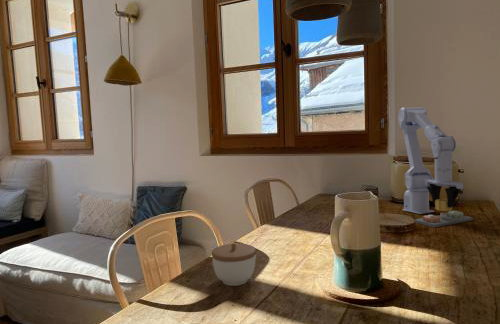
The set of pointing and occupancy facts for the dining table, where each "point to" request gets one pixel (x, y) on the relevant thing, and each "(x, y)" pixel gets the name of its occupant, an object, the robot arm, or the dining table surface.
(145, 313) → the dining table surface
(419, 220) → the gear board
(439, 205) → the loose gear
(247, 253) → the lidded jar
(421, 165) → the robot arm
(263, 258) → the dining table surface
